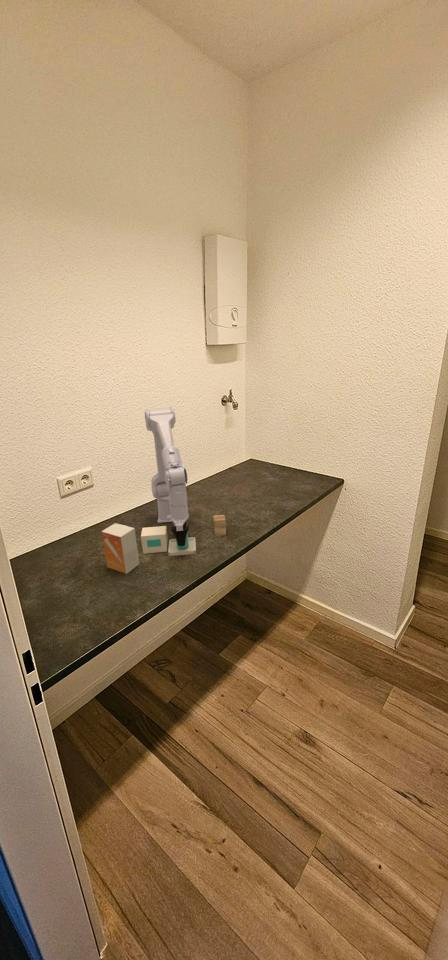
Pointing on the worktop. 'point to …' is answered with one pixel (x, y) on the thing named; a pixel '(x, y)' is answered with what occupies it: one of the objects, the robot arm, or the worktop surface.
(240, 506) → the worktop surface
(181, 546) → the cylinder
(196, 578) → the worktop surface
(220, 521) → the oak block
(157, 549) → the block
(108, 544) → the small box
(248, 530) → the worktop surface
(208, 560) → the worktop surface
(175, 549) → the tray
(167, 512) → the robot arm
